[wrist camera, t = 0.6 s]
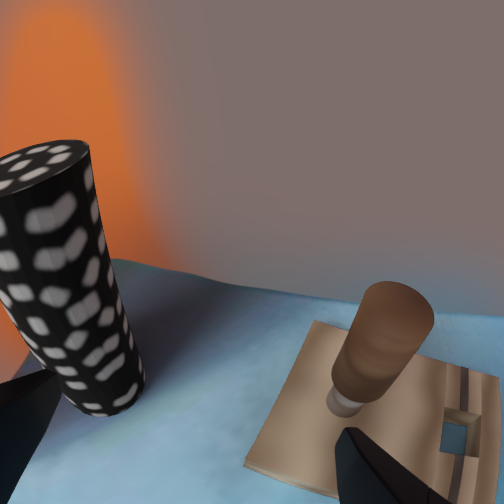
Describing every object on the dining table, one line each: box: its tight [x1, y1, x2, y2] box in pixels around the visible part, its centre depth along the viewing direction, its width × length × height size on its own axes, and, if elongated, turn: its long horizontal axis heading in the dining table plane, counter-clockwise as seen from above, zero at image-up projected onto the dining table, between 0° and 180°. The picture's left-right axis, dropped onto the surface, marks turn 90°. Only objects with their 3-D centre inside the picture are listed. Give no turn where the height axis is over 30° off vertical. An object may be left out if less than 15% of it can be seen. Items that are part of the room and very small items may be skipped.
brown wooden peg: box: [326, 281, 434, 418], centre depth 19 cm, size 4×4×11 cm
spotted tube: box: [0, 140, 145, 417], centre depth 18 cm, size 8×8×20 cm
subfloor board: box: [244, 320, 501, 504], centre depth 21 cm, size 22×15×3 cm
